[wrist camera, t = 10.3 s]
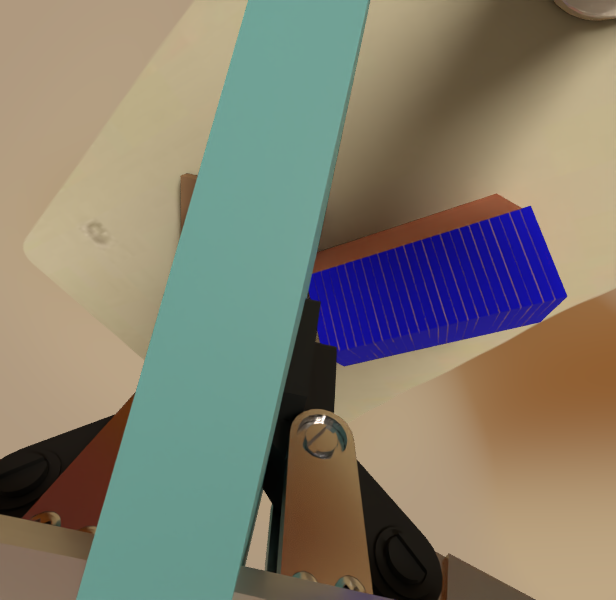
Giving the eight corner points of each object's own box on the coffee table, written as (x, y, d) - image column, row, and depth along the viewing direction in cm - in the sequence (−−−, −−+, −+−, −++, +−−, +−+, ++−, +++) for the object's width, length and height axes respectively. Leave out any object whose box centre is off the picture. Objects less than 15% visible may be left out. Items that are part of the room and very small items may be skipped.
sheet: (397, -129, 4) (93, 1203, 2) (318, 245, 18) (269, 461, 16) (291, -153, 4) (-87, 1163, 2) (296, 240, 18) (245, 455, 16)
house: (311, 250, 38) (298, 301, 28) (499, 188, 33) (565, 224, 23) (344, 332, 44) (343, 399, 33) (511, 290, 38) (569, 355, 28)
